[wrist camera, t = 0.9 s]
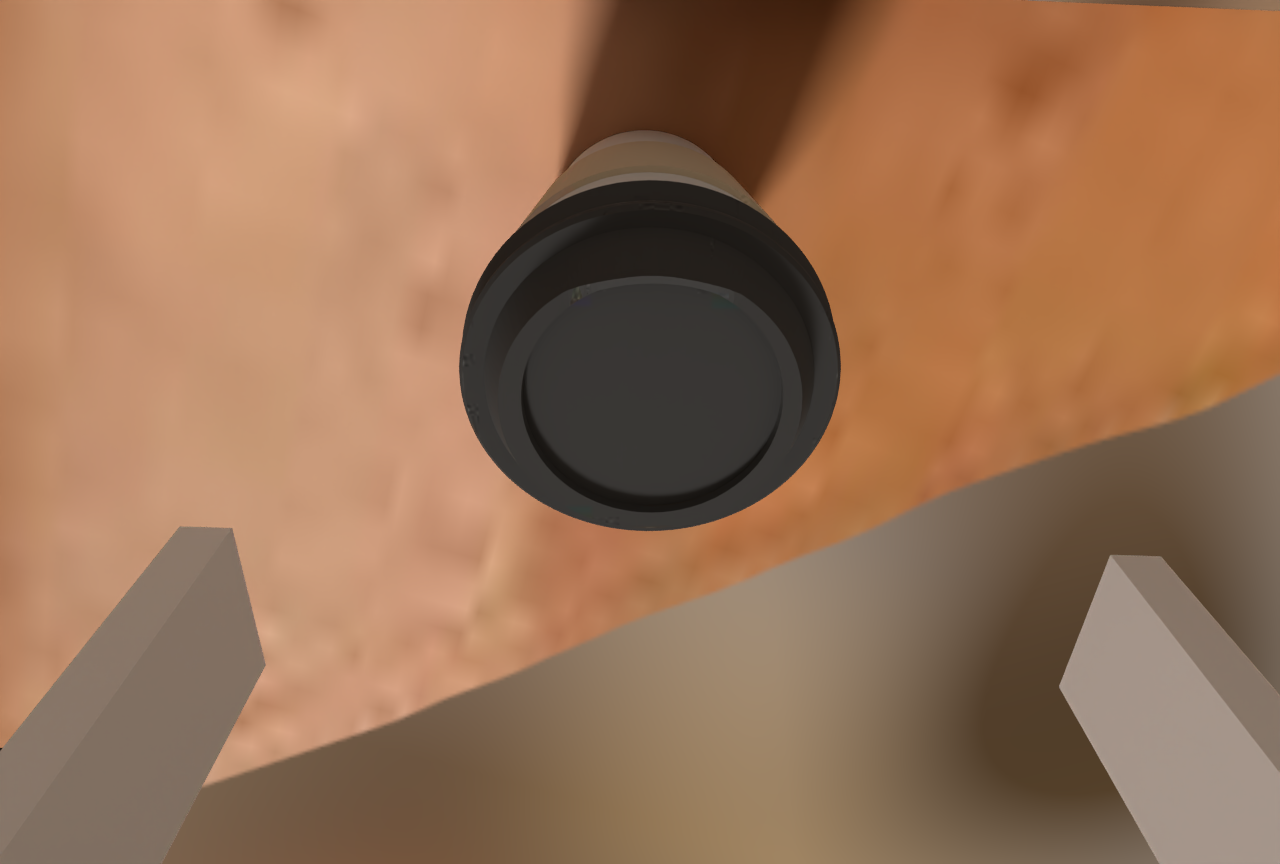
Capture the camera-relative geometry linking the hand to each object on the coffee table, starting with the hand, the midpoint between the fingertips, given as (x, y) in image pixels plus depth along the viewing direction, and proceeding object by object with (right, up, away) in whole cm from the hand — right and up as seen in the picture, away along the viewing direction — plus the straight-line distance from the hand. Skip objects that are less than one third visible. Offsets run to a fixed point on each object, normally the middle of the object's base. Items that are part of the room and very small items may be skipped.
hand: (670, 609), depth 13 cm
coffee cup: (0, +11, +19) cm, 21 cm away
